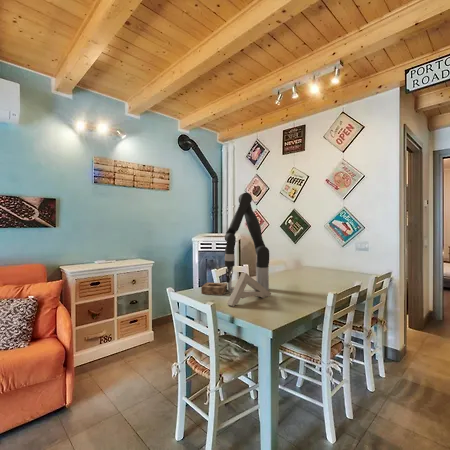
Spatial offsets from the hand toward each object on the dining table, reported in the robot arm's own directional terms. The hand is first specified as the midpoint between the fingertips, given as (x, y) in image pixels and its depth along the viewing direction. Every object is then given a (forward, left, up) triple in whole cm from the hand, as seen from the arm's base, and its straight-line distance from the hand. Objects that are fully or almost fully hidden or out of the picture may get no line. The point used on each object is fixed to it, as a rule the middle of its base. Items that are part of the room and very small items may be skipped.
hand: (229, 281), depth 205 cm
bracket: (-4, 0, -7) cm, 8 cm away
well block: (+10, +5, -7) cm, 13 cm away
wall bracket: (-19, +21, -8) cm, 29 cm away
